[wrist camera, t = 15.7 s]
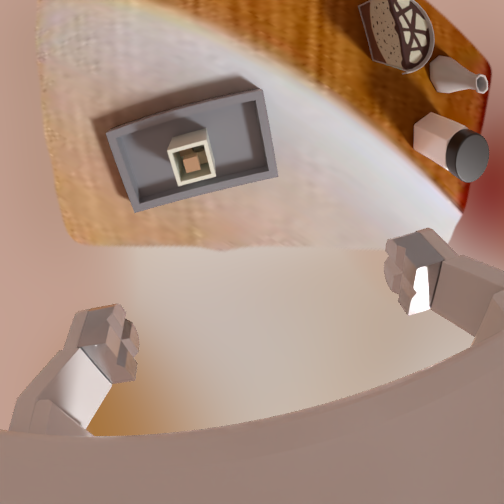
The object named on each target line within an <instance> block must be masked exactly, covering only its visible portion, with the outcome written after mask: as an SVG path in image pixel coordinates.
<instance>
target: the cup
mask: <svg viewBox="0 0 504 504" xmlns="http://www.w3.org/2000/svg"><path fill="white" fill-rule="evenodd" d="M167 152H168V155H169V159H170V162H171V165H172V168H173V171H174V175H175V178H176V181H177V184H178V186H181V185H185V184H189V183H193V182H197V181H200V180H204V179H208V178H212V177H216V170H215V160H214V156H213V152H212V148H211V144H210V140H209V136H208V132H207V128H205V129H201V130H197V131H193V132H190V133H186V134H182V135H179V136H175V137H172V139H171V142H170V144H169V147H168V149H167Z"/></svg>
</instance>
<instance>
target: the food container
mask: <svg viewBox="0 0 504 504" xmlns="http://www.w3.org/2000/svg"><path fill="white" fill-rule="evenodd" d="M358 8H359V12H360V15H361V18H362V22H363V25H364V29H365V33H366V37H367V40H368V44H369V48H370V52H371V57H372V61H375V62H378V63H382V64H385V65H388V66H391V67H394V68H397V69H400V70H403V71H406V72H405V73H402V74H408V73H412V72H414V71H417V70H418V69H420V68H421V67H423V66H424V65H425V64H426V63H427V62H428V60H429V59H430V57H431V55H432V52H433V48H434V31H433V27H432V24H431V22H430V19H429V17H428V16H427V14H426V12H425V11H424V10H423V8H422V7H421V6H420V5H419V4H418V3H417V2H415V1H414V0H369V1H367V2H365V3H363V4H361V5H358Z"/></svg>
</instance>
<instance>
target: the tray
mask: <svg viewBox="0 0 504 504" xmlns="http://www.w3.org/2000/svg"><path fill="white" fill-rule="evenodd" d="M205 128H207V132H208V136H209V140H210V144H211V148H212V152H213V156H214V160H215V170H216V177H212V178H208V179H204V180H200V181H197V182H193V183H189V184H185V185H181V186H178V184H177V181H176V178H175V175H174V171H173V168H172V165H171V162H170V159H169V155H168V152H167V149H168V147H169V144H170V142H171V139H172V137H175V136H179V135H182V134H186V133H190V132H193V131H197V130H201V129H205ZM106 136H107V139H108V142H109V145H110V148H111V151H112V153H113V156H114V159H115V162H116V165H117V167H118V170H119V173H120V176H121V178H122V181H123V184H124V186H125V189H126V192H127V194H128V197H129V199H130V202H131V205H132V207H133V210H134V212H135V213H136V212H139V211H143V210H146V209H150V208H153V207H157V206H161V205H164V204H168V203H172V202H175V201H179V200H183V199H187V198H190V197H194V196H198V195H202V194H206V193H210V192H214V191H218V190H222V189H226V188H231V187H235V186H239V185H243V184H248V183H252V182H256V181H261V180H265V179H270V178H275V177H278V172H277V166H276V160H275V154H274V148H273V143H272V137H271V132H270V126H269V121H268V115H267V110H266V105H265V99H264V94H263V90H262V89H260V88H258V89H253V90H248V91H242V92H238V93H233V94H228V95H224V96H219V97H215V98H211V99H207V100H203V101H199V102H195V103H191V104H187V105H183V106H180V107H176V108H173V109H169V110H166V111H162V112H159V113H156V114H153V115H149V116H146V117H143V118H140V119H137V120H134V121H131V122H128V123H125V124H123V125H120V126H117V127H114V128H111V129H110V130H109V131H108V132H106Z"/></svg>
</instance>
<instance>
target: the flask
mask: <svg viewBox="0 0 504 504" xmlns="http://www.w3.org/2000/svg"><path fill="white" fill-rule="evenodd" d="M430 80H431V82H432V83H433V85H434V87H435V89H436V91H437V92H443V93H451V92H455V91H459V90H464V89H474V90H476V91H477V92H478V93H485V92H486V91H487V90H488V81H487V79H486V76H485V75H482V74H478V75H476V74H474V73H472V72H470V71H468V70H467V69H466V68H464V67H463V66H461V65H460V64H459V63H458V62H456V61H455V60H454V59H452V58H451V57H446V56H440V55H439V56H438V57H437V58H435V59H434V60H433V61H432V62H431V63H430Z"/></svg>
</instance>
